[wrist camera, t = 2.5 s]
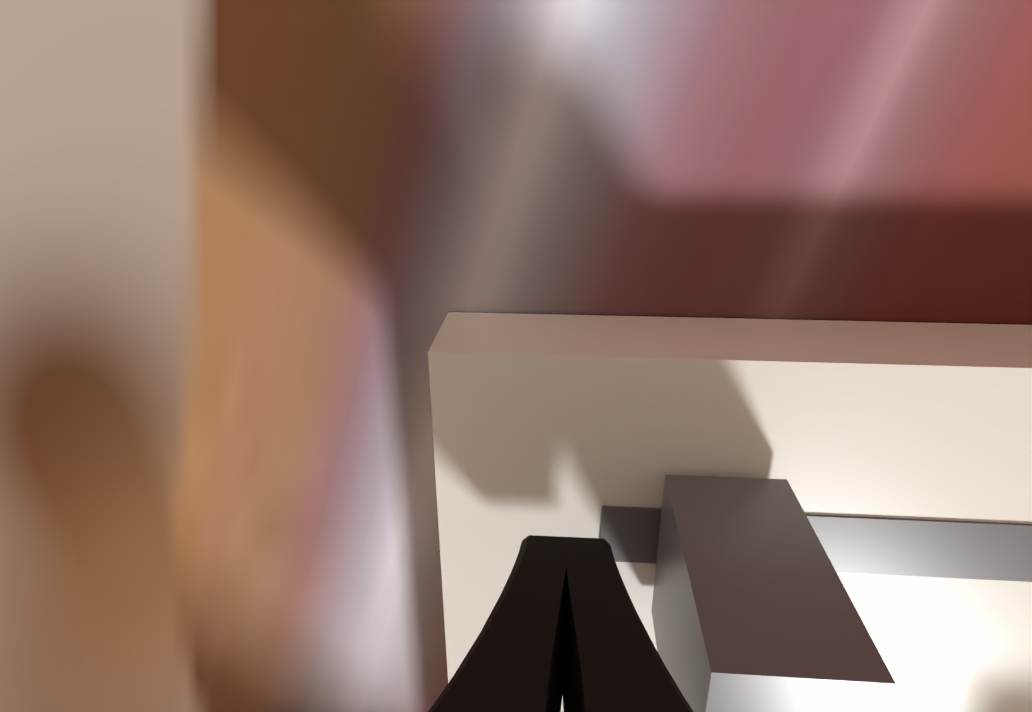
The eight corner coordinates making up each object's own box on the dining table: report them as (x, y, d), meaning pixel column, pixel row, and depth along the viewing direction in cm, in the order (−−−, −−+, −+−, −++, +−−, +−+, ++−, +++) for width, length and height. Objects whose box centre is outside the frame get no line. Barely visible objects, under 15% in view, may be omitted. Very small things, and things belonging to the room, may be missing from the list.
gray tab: (761, 616, 12) (843, 851, 8) (651, 611, 12) (685, 840, 9) (787, 479, 11) (896, 684, 7) (665, 474, 11) (711, 672, 7)
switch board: (1273, 875, 17) (1387, 1005, 15) (472, 813, 19) (457, 922, 16) (1670, 338, 11) (1971, 410, 9) (448, 312, 13) (419, 366, 10)
